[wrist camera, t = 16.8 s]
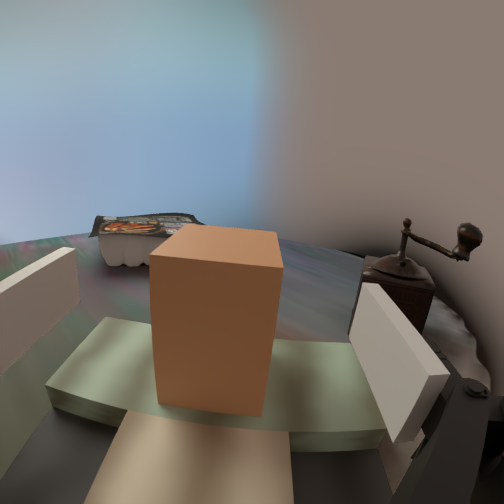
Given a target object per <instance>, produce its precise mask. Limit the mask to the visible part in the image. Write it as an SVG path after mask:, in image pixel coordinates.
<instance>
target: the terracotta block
mask: <svg viewBox="0 0 504 504" xmlns="http://www.w3.org/2000/svg"><path fill="white" fill-rule="evenodd" d="M149 276H150V311H151V331H152V346H153V360H154V371H155V382H156V392H157V401H158V403H159V404H164V405H170V406H175V407H181V408H188V409H194V410H201V411H208V412H216V413H225V414H234V415H244V416H256V417H261V416H262V410H263V404H264V398H265V392H266V386H267V380H268V373H269V367H270V361H271V354H272V347H273V341H274V334H275V327H276V320H277V313H278V306H279V298H280V291H281V284H282V276H283V263H282V258H281V253H280V248H279V243H278V239H277V234H276V232H271V231H260V230H250V229H240V228H229V227H218V226H207V225H196V224H186V225H184V226H183V227H182V228H181V229H179V230H178V231H177V232H176V233H175V234H173V235H172V236H171V237H170V238H168V239H167V240H166V241H165V242H164V243H162V244H161V245H160V246H159V247H157V248H156V249H155V250H154V251H153V252H152V253H150V254H149Z"/></svg>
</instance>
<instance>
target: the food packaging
mask: <svg viewBox="0 0 504 504" xmlns="http://www.w3.org/2000/svg"><path fill="white" fill-rule="evenodd" d="M186 224H196V225H205V224H203V223H201V222H199V221H197V220H196V218H195V217H194V215H190V214H184V213H159V214H149V215H140V216H128V217H104V216H96V218H95V222H94V225H93V229H92V232H91V235H90V236H89V237H94V236H98V241H99V246H100V250H101V254H102V256H103V257H104V259H105V261H106V263H107V265H109V266H120V265H121V264H126V265H127V266H129V267H133V266H139V265H140V264H141V263H145V264H146V265H149V254H150V253H152V252H153V251H154V250H155V249H156V248H157V247H159V246H160V245H161V244H162V243H164V242H165V241H166V240H167V239H168V238H170V237H171V236H172V235H173V234H175V233H176V232H177V231H178V230H179V229H181V228H182V227H183V226H184V225H186ZM89 237H88V238H89Z"/></svg>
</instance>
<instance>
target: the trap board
mask: <svg viewBox="0 0 504 504" xmlns="http://www.w3.org/2000/svg"><path fill="white" fill-rule="evenodd" d="M45 387H46V389H47V392H48V395H49V398H50V401H51V403H52V406H53V407H52V408H51V409H50V411H49V412H48V413H47V415H46V416H45V417H44V419H43V420H42V421H41V423H40V424H39V426H38V427H37V428H36V430H35V431H34V432H33V434H32V435H31V437H30V438H29V439H28V441H27V442H26V444H25V445H24V447H23V448H22V449H21V451H20V452H19V454H18V455H17V457H16V458H15V460H14V461H13V462H12V464H11V465H10V467H9V468H8V470H7V471H6V473H5V474H4V476H3V477H2V479H1V480H0V504H388V503H389V502H390V500H391V499H392V497H393V495H392V492H391V489H390V486H389V482H388V479H387V476H386V473H385V470H384V467H383V464H382V461H381V458H380V455H379V452H378V449H377V448H378V446H379V444H380V442H381V440H382V438H383V436H384V435H385V433H386V431H387V427H386V424H385V422H384V419H383V417H382V414H381V412H380V409H379V407H378V405H377V402H376V400H375V397H374V395H373V392H372V390H371V388H370V385H369V383H368V381H367V378H366V376H365V374H364V371H363V369H362V367H361V365H360V363H359V360H358V358H357V356H356V354H355V351H354V349H353V347H352V345H351V343H331V342H311V341H295V340H281V339H274V341H273V347H272V354H271V361H270V367H269V373H268V380H267V386H266V392H265V398H264V404H263V410H262V416H261V417H256V416H244V415H234V414H225V413H216V412H208V411H201V410H194V409H188V408H181V407H175V406H170V405H164V404H159V403H158V401H157V392H156V382H155V371H154V360H153V346H152V331H151V324H145V323H139V322H133V321H128V320H122V319H116V318H111V317H105V318H104V319H103V320H102V321H101V322H100V323H99V325H98V326H97V327H96V328H95V329H94V330H93V331H92V332H91V333H90V334H89V335H88V336H87V338H86V339H85V340H84V341H83V342H82V343H81V344H80V345H79V346H78V347H77V349H76V350H75V351H74V352H73V353H72V354H71V355H70V356H69V358H68V359H67V360H66V361H65V362H64V363H63V364H62V365H61V367H60V368H59V369H58V370H57V371H56V372H55V374H54V375H53V376H52V377H51V378H50V379H49V380H48V382H47V383H46V384H45Z"/></svg>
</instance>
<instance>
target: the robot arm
mask: <svg viewBox="0 0 504 504" xmlns="http://www.w3.org/2000/svg"><path fill="white" fill-rule="evenodd" d="M79 302H80V295H79V286H78V275H77V263H76V249H74V248H67V247H62V248H60V249H58V250H56V251H54V252H53V253H51V254H49V255H47V256H45V257H43V258H41V259H40V260H38V261H36V262H34V263H32V264H30V265H29V266H27V267H25V268H23V269H22V270H20V271H18V272H16V273H14V274H13V275H11V276H9V277H8V278H6V279H4V280H2V281H1V282H0V377H1V376H2V375H3V374H4V373H5V372H6V371H7V370H8V369H9V368H10V367H11V366H12V365H13V364H14V363H15V362H16V361H17V360H18V359H19V358H20V357H21V356H22V355H23V354H24V353H25V352H26V351H27V350H28V349H29V348H30V347H31V346H32V345H33V344H34V343H35V342H36V341H38V340H39V339H40V338H41V337H42V336H43V335H44V334H45V333H46V332H47V331H48V330H49V329H50V328H51V327H53V326H54V325H55V324H56V323H57V322H58V321H59V320H60V319H61V318H62V317H64V316H65V315H66V314H67V313H68V312H69V311H70V310H71V309H72V308H74V307H75V306H76V305H77V304H78V303H79ZM349 339H350V341H351V343H352V346H353V348H354V350H355V352H356V355H357V357H358V359H359V362H360V364H361V366H362V369H363V371H364V373H365V376H366V378H367V380H368V383H369V385H370V388H371V390H372V392H373V395H374V397H375V400H376V402H377V405H378V407H379V409H380V412H381V414H382V417H383V419H384V422H385V424H386V427H387V430H388V432H389V435H390V437H391V440H392V442H393V443H399V442H407V441H413V440H414V439H415V437H416V435H417V434H418V432H419V431H420V429H421V428H422V430H423V432H424V434H425V438H424V439H423V441H422V442H421V444H420V445H419V447H418V448H417V450H416V451H415V452H414V454H413V455H412V457H411V458H412V459H413V460H412V462H411V464H410V466H409V468H408V470H407V472H406V474H405V476H404V478H403V479H402V481H401V483H400V485H399V487H398V488H397V490H396V492H395V493H394V495H393V497H392V499H391V500H390V502H389V503H388V504H469V502H470V504H504V397H503V396H492V395H491V394H490V391H489V390H488V388H487V387H486V386H485V385H483V384H482V383H481V382H479V381H477V380H474V379H470V378H462V377H461V376H460V374H459V373H458V372H457V370H456V369H455V368H454V367H453V365H452V364H451V363H450V361H449V360H447V358H446V356H445V355H444V354H443V353H441V352H442V351H441V350H440V349H439V348H438V346H437V345H436V344H435V343H434V342H432V341H431V340H429V339H428V338H426V337H422V336H421V335H420V334H419V332H418V331H417V330H416V329H415V327H414V326H413V325H412V324H411V323H410V321H409V320H408V319H407V318H406V316H405V315H404V314H403V313H402V312H401V310H400V309H399V308H398V307H397V305H396V304H395V303H394V302H393V301H392V300H391V298H390V297H389V296H388V295H387V294H386V292H385V291H384V290H383V289H382V288H381V287H380V285H379V284H374V283H362V287H361V291H360V295H359V299H358V303H357V307H356V311H355V315H354V319H353V323H352V326H351V330H350V333H349Z"/></svg>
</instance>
